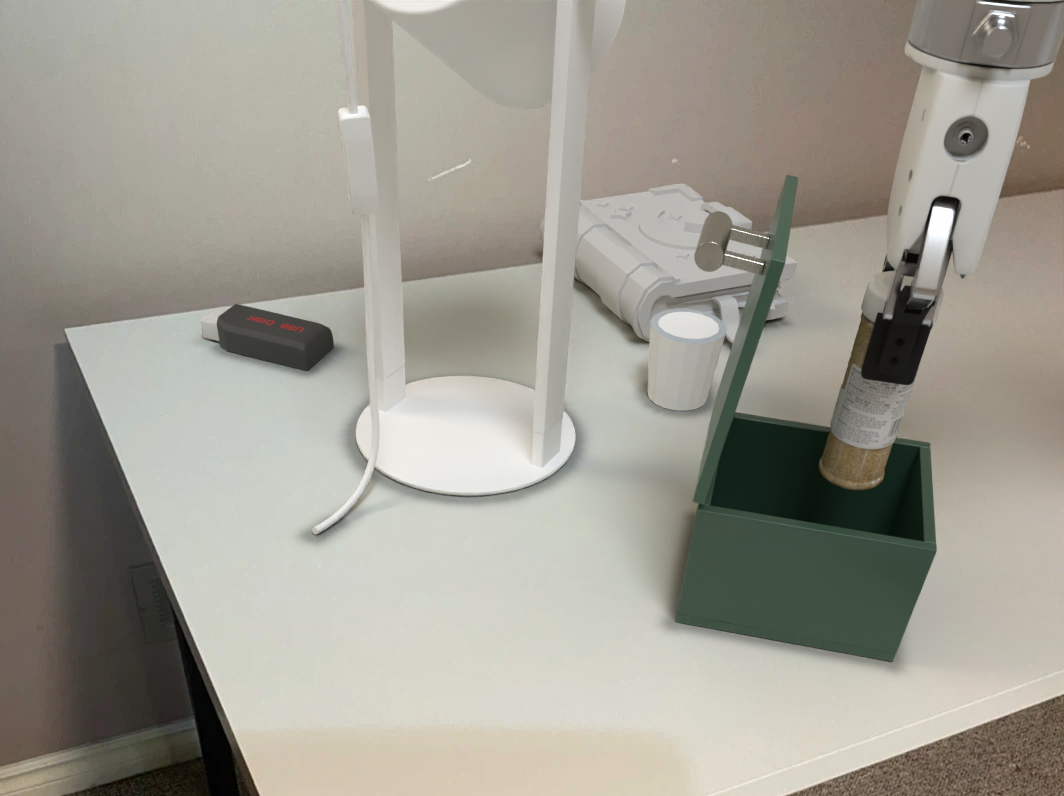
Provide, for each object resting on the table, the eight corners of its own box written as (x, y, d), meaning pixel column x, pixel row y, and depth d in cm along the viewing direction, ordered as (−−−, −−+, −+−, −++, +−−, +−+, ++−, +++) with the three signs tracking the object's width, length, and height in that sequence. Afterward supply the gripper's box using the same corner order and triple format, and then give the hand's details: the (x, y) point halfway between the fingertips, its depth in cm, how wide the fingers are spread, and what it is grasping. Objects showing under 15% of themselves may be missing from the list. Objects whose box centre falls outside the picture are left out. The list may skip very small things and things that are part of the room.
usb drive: (308, 371, 101) (305, 343, 99) (198, 344, 104) (193, 316, 102) (334, 347, 105) (332, 320, 103) (227, 322, 107) (223, 295, 105)
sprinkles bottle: (841, 450, 77) (896, 261, 67) (896, 477, 74) (960, 286, 65) (803, 472, 74) (854, 280, 65) (857, 502, 72) (919, 307, 62)
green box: (891, 550, 85) (930, 442, 78) (892, 662, 76) (937, 550, 69) (697, 517, 87) (718, 408, 80) (675, 622, 78) (696, 509, 71)
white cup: (679, 370, 104) (691, 300, 99) (728, 401, 101) (742, 330, 96) (626, 389, 101) (634, 318, 96) (674, 421, 98) (686, 349, 93)
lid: (798, 176, 68) (722, 157, 68) (785, 262, 59) (697, 239, 59) (724, 404, 80) (659, 387, 80) (703, 505, 71) (630, 485, 71)
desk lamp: (635, 407, 99) (721, -244, 67) (446, 590, 79) (439, -210, 47) (446, 345, 106) (441, -273, 74) (228, 499, 86) (92, -255, 54)
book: (657, 372, 104) (669, 295, 99) (534, 257, 121) (538, 186, 116) (820, 340, 110) (839, 266, 105) (681, 235, 128) (691, 167, 122)
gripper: (1083, 83, 49) (952, 437, 62) (1045, -3, 60) (941, 311, 73) (915, 64, 50) (821, 417, 63) (909, -17, 61) (830, 295, 74)
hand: (886, 357), depth 68 cm, fingers closed on sprinkles bottle, 4 cm apart
